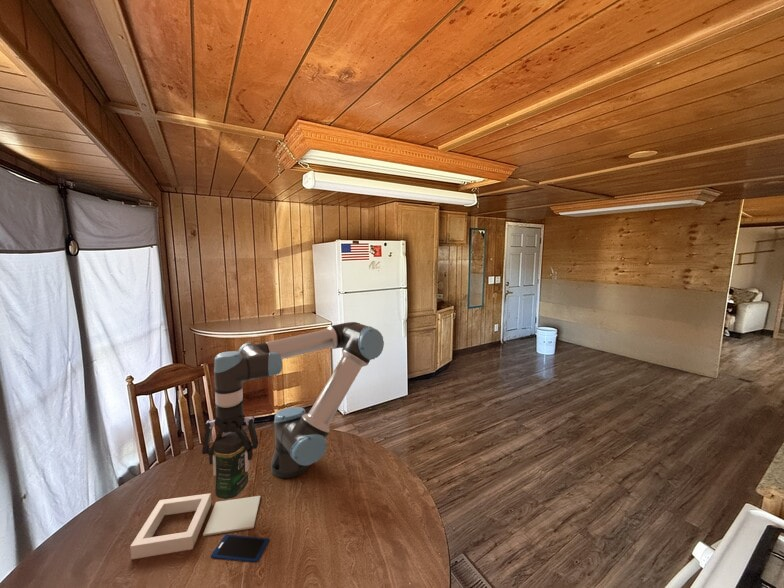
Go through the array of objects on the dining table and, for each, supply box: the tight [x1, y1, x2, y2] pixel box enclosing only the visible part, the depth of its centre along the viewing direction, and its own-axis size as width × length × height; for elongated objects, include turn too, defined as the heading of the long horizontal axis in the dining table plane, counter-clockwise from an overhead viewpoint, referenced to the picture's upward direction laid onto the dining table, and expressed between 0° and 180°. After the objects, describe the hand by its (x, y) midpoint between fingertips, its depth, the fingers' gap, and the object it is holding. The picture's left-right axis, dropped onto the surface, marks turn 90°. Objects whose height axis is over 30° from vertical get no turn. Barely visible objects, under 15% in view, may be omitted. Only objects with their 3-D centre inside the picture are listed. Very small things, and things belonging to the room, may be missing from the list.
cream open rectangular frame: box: [129, 492, 212, 560], centre depth 98 cm, size 15×17×4 cm
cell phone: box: [210, 534, 270, 563], centre depth 92 cm, size 7×14×1 cm, turn 85°
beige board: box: [202, 495, 262, 537], centre depth 103 cm, size 14×13×1 cm
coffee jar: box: [214, 429, 249, 500], centre depth 101 cm, size 10×8×19 cm
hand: (231, 470), depth 102 cm, fingers closed on coffee jar, 8 cm apart
